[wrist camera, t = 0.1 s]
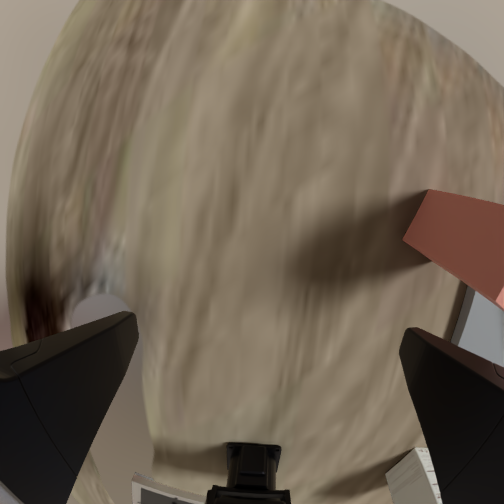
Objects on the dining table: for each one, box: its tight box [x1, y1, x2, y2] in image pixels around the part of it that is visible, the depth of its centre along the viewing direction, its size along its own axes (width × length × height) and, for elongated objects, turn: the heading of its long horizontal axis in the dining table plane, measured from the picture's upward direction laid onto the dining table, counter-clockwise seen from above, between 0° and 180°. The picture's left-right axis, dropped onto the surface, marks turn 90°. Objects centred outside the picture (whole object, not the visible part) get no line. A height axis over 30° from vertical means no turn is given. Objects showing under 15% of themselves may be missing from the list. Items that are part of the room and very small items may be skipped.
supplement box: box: [385, 448, 442, 504], centre depth 25 cm, size 7×7×13 cm
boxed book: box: [402, 189, 504, 311], centre depth 16 cm, size 5×4×12 cm
